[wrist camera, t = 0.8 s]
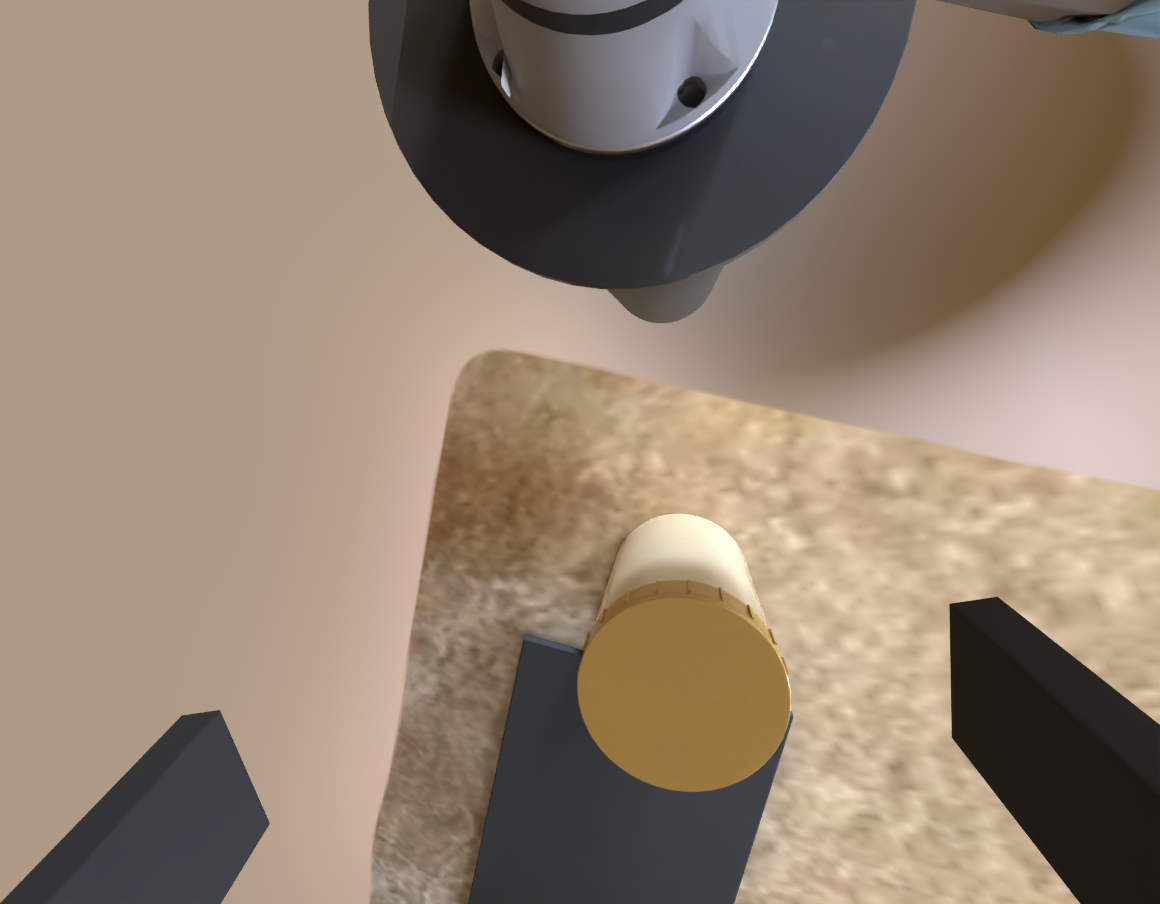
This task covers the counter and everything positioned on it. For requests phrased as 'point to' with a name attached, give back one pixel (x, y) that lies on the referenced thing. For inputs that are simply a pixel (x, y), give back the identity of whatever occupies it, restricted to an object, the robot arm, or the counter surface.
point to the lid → (684, 686)
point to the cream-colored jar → (681, 559)
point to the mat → (601, 811)
